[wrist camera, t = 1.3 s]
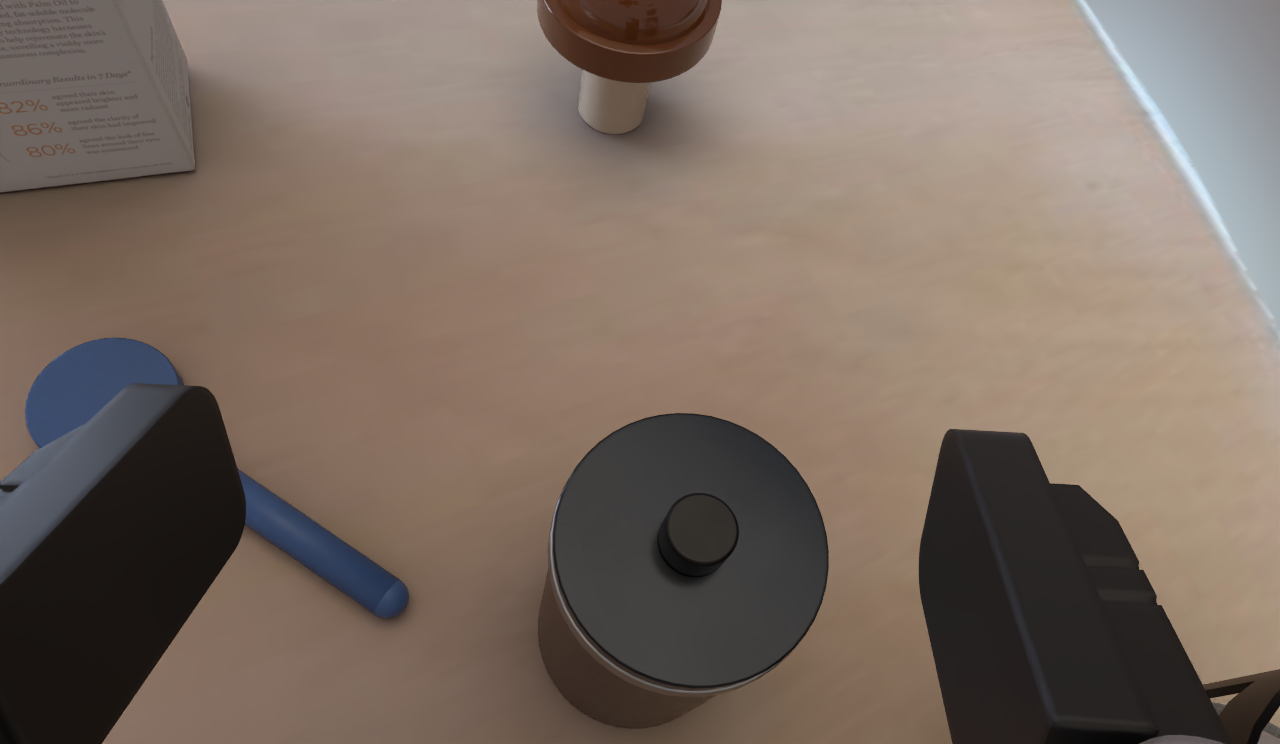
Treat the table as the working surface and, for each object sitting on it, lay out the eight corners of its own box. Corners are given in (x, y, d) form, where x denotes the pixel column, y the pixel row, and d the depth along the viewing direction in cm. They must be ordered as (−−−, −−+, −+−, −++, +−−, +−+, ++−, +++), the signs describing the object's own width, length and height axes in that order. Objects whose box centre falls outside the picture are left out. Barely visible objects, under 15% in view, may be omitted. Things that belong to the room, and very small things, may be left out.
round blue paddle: (6, 427, 29) (-13, 411, 28) (115, 328, 31) (101, 310, 30) (358, 675, 27) (352, 669, 26) (450, 554, 29) (448, 543, 28)
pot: (492, 657, 28) (491, 568, 18) (603, 493, 30) (653, 343, 21) (667, 777, 27) (762, 749, 17) (765, 598, 30) (893, 490, 20)
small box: (191, 63, 36) (85, -205, 27) (199, 175, 34) (87, -74, 24) (-40, 81, 34) (-240, -200, 25) (-47, 202, 32) (-271, -57, 22)
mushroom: (499, 117, 37) (501, -72, 29) (588, 27, 40) (611, -167, 32) (636, 199, 36) (675, 26, 28) (716, 100, 39) (772, -81, 31)
